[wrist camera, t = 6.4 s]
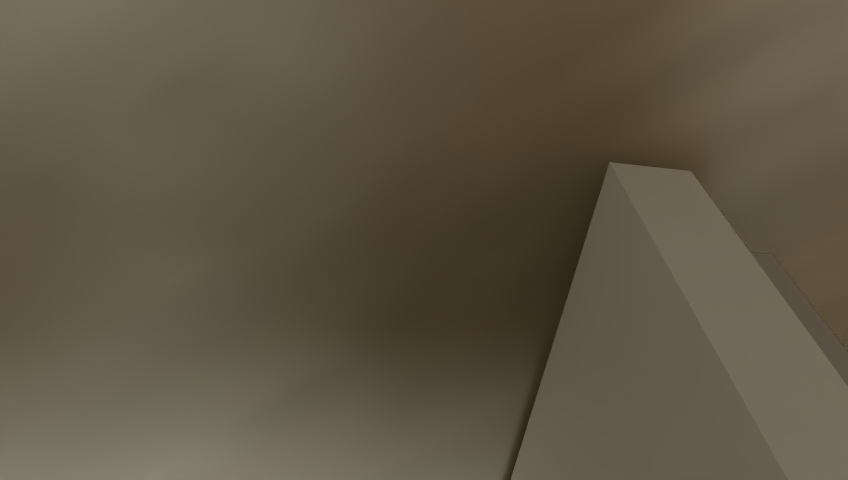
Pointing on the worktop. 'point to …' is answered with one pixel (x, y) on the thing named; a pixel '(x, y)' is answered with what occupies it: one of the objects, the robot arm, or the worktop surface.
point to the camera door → (684, 352)
